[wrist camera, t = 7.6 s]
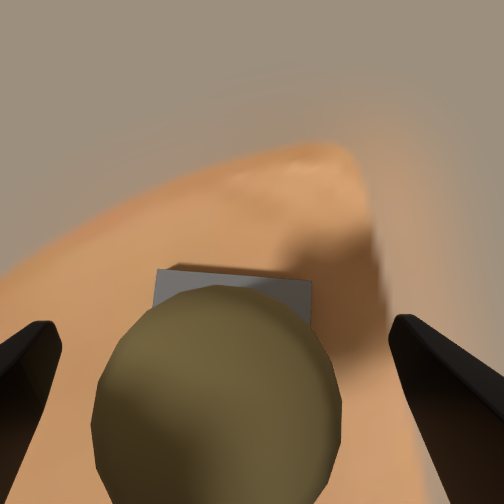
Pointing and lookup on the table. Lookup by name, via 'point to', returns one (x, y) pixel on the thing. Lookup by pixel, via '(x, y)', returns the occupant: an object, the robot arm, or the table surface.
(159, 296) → the coaster
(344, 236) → the table surface
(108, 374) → the cork
